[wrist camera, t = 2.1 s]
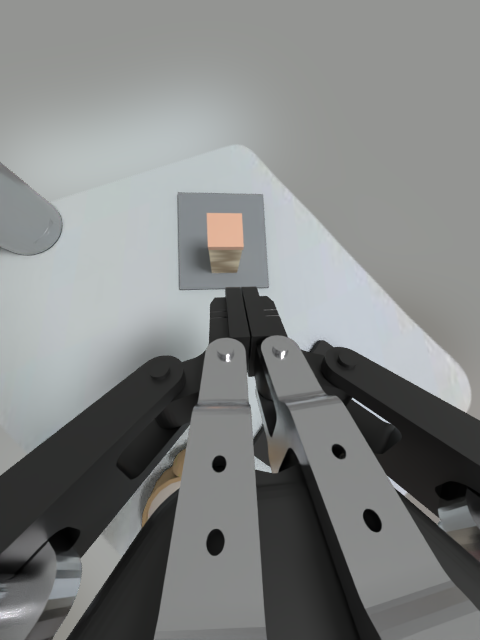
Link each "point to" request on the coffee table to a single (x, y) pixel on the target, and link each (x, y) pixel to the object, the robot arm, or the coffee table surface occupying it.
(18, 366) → the coffee table surface
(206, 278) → the rubber mat
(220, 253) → the birch block
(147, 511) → the alarm clock
